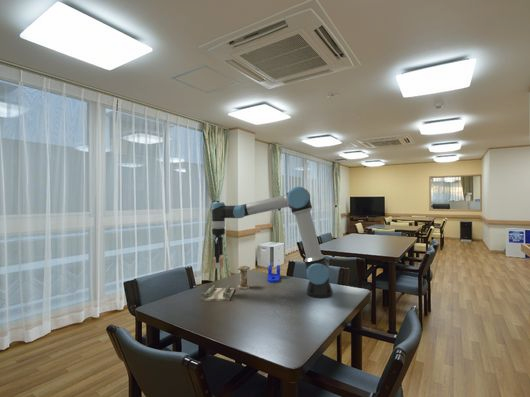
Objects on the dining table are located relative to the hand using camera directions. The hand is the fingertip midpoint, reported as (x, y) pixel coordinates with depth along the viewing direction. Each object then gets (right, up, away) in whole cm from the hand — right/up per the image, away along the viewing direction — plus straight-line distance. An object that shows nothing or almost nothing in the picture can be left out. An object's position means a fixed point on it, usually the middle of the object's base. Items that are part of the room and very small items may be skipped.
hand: (218, 266), depth 170 cm
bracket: (+34, -17, +33) cm, 50 cm away
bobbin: (+14, -17, +14) cm, 26 cm away
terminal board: (0, -17, 0) cm, 17 cm away
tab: (0, 0, 0) cm, 0 cm away
